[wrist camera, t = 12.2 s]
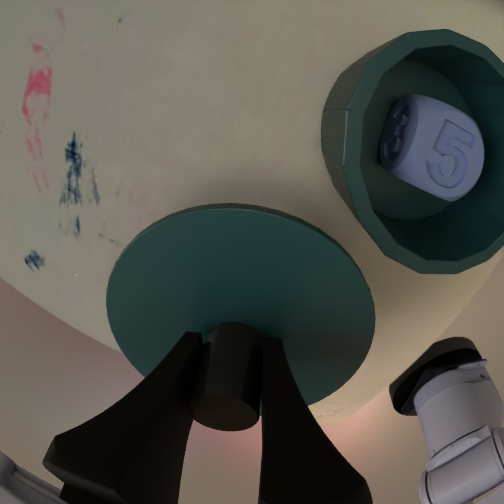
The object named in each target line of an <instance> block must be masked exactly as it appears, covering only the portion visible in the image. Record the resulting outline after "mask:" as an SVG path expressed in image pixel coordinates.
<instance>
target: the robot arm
mask: <svg viewBox="0 0 504 504" xmlns="http://www.w3.org/2000/svg"><path fill="white" fill-rule="evenodd" d="M202 348H203V340H202V333H201V332H190V331H186V332H185V333H184V334H183V335H182V336H181V338H180V339H179V340H178V342H177V343H176V344H175V345H174V346H173V348H172V349H171V350H170V351H169V352H168V354H167V355H166V356H165V357H164V358H163V359H162V360H161V362H160V363H159V364H158V365H157V366H156V367H155V368H154V369H153V370H152V371H151V372H150V373H149V374H148V375H147V376H146V377H145V378H144V379H143V380H142V381H141V382H140V383H139V384H138V385H137V386H136V387H135V388H134V389H133V390H131V391H130V392H129V393H128V394H127V395H125V396H124V397H123V398H122V399H121V400H119V401H118V402H116V403H115V404H114V405H112V406H111V407H109V408H108V409H106V410H105V411H104V412H102V413H101V414H99V415H97V416H95V417H94V418H92V419H90V420H88V421H87V422H85V423H83V424H81V425H79V426H77V427H75V428H73V429H70V430H68V431H66V432H64V433H61V434H59V435H56V436H55V437H54V439H53V441H52V442H51V444H50V446H49V448H48V451H47V453H46V455H45V457H44V459H43V462H42V463H43V465H44V467H45V468H46V469H47V470H49V471H50V472H51V473H52V474H54V475H55V476H56V477H57V478H59V479H60V480H61V481H63V482H64V486H63V488H62V490H60V489H59V488H57V487H55V486H53V485H51V484H49V483H47V482H45V481H44V480H42V479H40V478H38V477H36V476H35V475H33V474H31V473H30V472H28V471H26V470H25V469H23V468H21V467H20V466H18V465H17V464H15V462H14V461H13V460H11V459H10V458H9V457H8V456H6V455H5V454H4V453H2V452H1V451H0V504H178V497H179V489H180V481H181V474H182V468H183V461H184V455H185V450H186V444H187V440H188V435H189V432H190V429H191V425H192V422H193V418H192V417H191V416H190V415H189V413H188V411H187V402H188V398H189V395H190V391H191V387H192V384H193V380H194V377H195V373H196V370H197V366H198V362H199V359H200V355H201V352H202ZM486 364H487V359H481V360H476V361H470V362H464V363H458V364H452V365H445V366H438V367H431V368H427V369H425V370H424V372H423V374H422V375H421V377H420V379H419V381H418V382H417V384H416V386H415V388H414V389H413V391H412V393H411V394H410V396H409V397H408V399H407V401H406V402H405V404H404V405H403V407H402V409H401V411H402V413H405V412H412V411H416V412H417V415H418V418H419V421H420V424H421V428H422V432H423V435H424V438H425V442H426V446H427V449H428V453H429V457H430V460H429V461H428V462H426V463H425V464H426V468H427V470H425V471H424V472H423V473H422V476H421V479H420V482H419V496H420V500H421V503H422V504H473V499H475V498H477V497H479V496H480V495H482V494H484V493H486V492H488V491H489V490H491V489H493V488H495V487H496V486H498V485H500V484H501V483H502V482H503V484H502V486H501V487H500V488H499V489H498V490H497V491H495V492H494V493H492V494H491V495H489V496H487V497H485V498H483V499H482V500H480V501H478V502H476V503H474V504H504V428H503V427H501V425H502V422H503V419H504V406H503V402H502V399H501V397H500V395H499V393H498V391H497V389H496V387H495V385H494V383H493V381H492V379H491V377H490V376H489V374H488V372H487V370H486V368H485V365H486ZM261 416H262V459H261V472H260V485H259V498H258V504H373V501H372V497H371V493H370V490H369V487H368V484H367V482H366V480H365V478H364V477H362V476H361V475H360V473H358V472H357V471H356V470H355V469H354V468H353V467H352V466H351V464H350V463H349V462H347V460H346V459H345V458H344V457H343V456H342V455H341V453H340V452H339V451H338V450H337V449H336V447H335V446H334V445H333V444H332V442H331V441H330V440H329V438H328V437H327V436H326V434H325V433H324V432H323V430H322V429H321V427H320V426H319V424H318V423H317V421H316V420H315V418H314V416H313V415H312V413H311V411H310V410H309V408H308V406H307V404H306V402H305V401H304V399H303V397H302V395H301V393H300V391H299V388H298V386H297V384H296V382H295V379H294V377H293V374H292V372H291V369H290V366H289V364H288V361H287V357H286V354H285V350H284V345H283V340H282V339H281V338H278V337H264V342H263V358H262V388H261Z"/></svg>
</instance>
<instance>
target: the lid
mask: <svg viewBox="0 0 504 504" xmlns="http://www.w3.org/2000/svg"><path fill="white" fill-rule="evenodd" d="M106 307H107V316H108V320H109V324H110V327H111V330H112V333H113V335H114V337H115V340H116V342H117V343H118V345H119V347H120V349H121V350H122V352H123V353H124V355H125V356H126V357H127V359H128V360H129V361H130V363H131V364H132V365H133V366H134V367H135V368H136V369H137V370H138V371H139V372H140V373H141V374H142V375H143V376H144V377H146V376H147V375H148V374H149V373H150V372H151V371H152V370H153V369H154V368H155V367H156V366H157V365H158V364H159V363H160V362H161V360H162V359H163V358H164V357H165V356H166V355H167V354H168V352H169V351H170V350H171V349H172V348H173V346H174V345H175V344H176V343H177V342H178V340H179V339H180V338H181V336H182V335H183V334H184V333H185V332H186V331H190V332H201V333H202V340H203V348H202V352H201V355H200V359H199V362H198V366H197V370H196V373H195V377H194V380H193V384H192V387H191V391H190V395H189V398H188V402H187V411H188V413H189V415H190V416H191V417H192V418H193V419H194V420H195V421H197V422H198V423H200V424H202V425H204V426H206V427H209V428H212V429H216V430H222V431H241V430H245V429H248V428H251V427H252V426H254V425H255V424H256V423H257V422H258V420H259V416H261V388H262V358H263V342H264V337H278V338H281V339H282V340H283V345H284V350H285V354H286V357H287V361H288V364H289V366H290V369H291V372H292V374H293V377H294V379H295V382H296V384H297V386H298V388H299V391H300V393H301V395H302V397H303V399H304V401H305V402H306V404H307V406H309V405H311V404H313V403H316V402H318V401H320V400H322V399H324V398H325V397H327V396H329V395H331V394H332V393H333V392H335V391H336V390H338V389H339V388H340V387H342V386H343V385H344V384H345V383H346V382H347V381H348V380H349V379H350V378H351V377H352V376H353V375H354V374H355V373H356V371H357V370H358V369H359V367H360V366H361V364H362V363H363V361H364V360H365V358H366V356H367V354H368V351H369V349H370V347H371V343H372V340H373V336H374V331H375V309H374V302H373V299H372V295H371V292H370V289H369V286H368V284H367V282H366V280H365V278H364V276H363V274H362V272H361V270H360V268H359V267H358V265H357V264H356V263H355V261H354V260H353V259H352V257H351V256H350V254H349V253H348V252H347V251H346V250H345V249H344V248H343V247H342V246H341V245H340V244H339V243H338V242H337V241H335V240H334V239H333V238H331V237H330V236H329V235H327V234H326V233H325V232H323V231H322V230H320V229H319V228H317V227H315V226H314V225H312V224H310V223H308V222H306V221H304V220H302V219H300V218H298V217H295V216H293V215H290V214H287V213H284V212H282V211H279V210H275V209H271V208H266V207H262V206H257V205H249V204H237V203H223V204H208V205H202V206H197V207H192V208H187V209H184V210H181V211H178V212H176V213H173V214H170V215H168V216H166V217H164V218H162V219H160V220H158V221H156V222H154V223H153V224H151V225H150V226H148V227H147V228H146V229H144V230H143V231H142V232H141V233H139V234H138V235H137V236H136V237H135V238H134V239H133V240H132V241H131V242H130V244H129V245H128V246H127V247H126V248H125V249H124V250H123V251H122V253H121V255H120V256H119V258H118V259H117V261H116V262H115V264H114V267H113V269H112V272H111V274H110V277H109V281H108V286H107V294H106Z"/></svg>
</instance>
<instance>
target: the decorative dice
mask: <svg viewBox="0 0 504 504" xmlns="http://www.w3.org/2000/svg"><path fill="white" fill-rule="evenodd" d="M380 158H381V163H382V165H383V167H384V170H385V171H387V172H388V173H390V174H392V175H394V176H395V177H397V178H399V179H401V180H403V181H405V182H408V183H410V184H412V185H414V186H416V187H418V188H420V189H422V190H424V191H427V192H429V193H431V194H433V195H435V196H438V197H440V198H442V199H445V200H447V201H450V202H453V201H455V200H458V199H459V198H461V197H463V196H464V195H466V194H467V193H468V192H469V191H470V190H471V189H472V188H473V187H474V185H475V184H476V182H477V180H478V178H479V176H480V174H481V171H482V168H483V163H484V144H483V139H482V135H481V133H480V130H479V128H478V126H477V124H476V122H475V121H474V120H473V119H472V118H470V117H469V116H468V115H466V114H465V113H463V112H462V111H460V110H458V109H456V108H454V107H452V106H450V105H448V104H446V103H444V102H441V101H439V100H436V99H433V98H430V97H427V96H423V95H418V94H407V95H405V96H403V97H401V98H400V99H399V100H398V101H397V102H396V104H395V105H394V106H393V108H392V110H391V112H390V114H389V116H388V118H387V121H386V123H385V126H384V130H383V133H382V138H381V145H380Z"/></svg>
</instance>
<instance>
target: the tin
mask: <svg viewBox="0 0 504 504" xmlns="http://www.w3.org/2000/svg"><path fill="white" fill-rule="evenodd" d="M407 94H418V95H423V96H427V97H430V98H433V99H436V100H439V101H441V102H444V103H446V104H448V105H450V106H452V107H454V108H456V109H458V110H460V111H462V112H463V113H465V114H466V115H468V116H469V117H470V118H472V119H473V120H474V121H475V122H476V124H477V126H478V128H479V130H480V133H481V135H482V139H483V144H484V163H483V168H482V171H481V174H480V176H479V178H478V180H477V182H476V184H475V185H474V187H473V188H472V189H471V190H470V191H469V192H468V193H467V194H466V195H464V196H463V197H461V198H459V199H458V200H455V201H453V202H450V201H447V200H445V199H442V198H440V197H438V196H435V195H433V194H431V193H429V192H427V191H424V190H422V189H420V188H418V187H416V186H414V185H412V184H410V183H408V182H405V181H403V180H401V179H399V178H397V177H395V176H394V175H392V174H390V173H388V172H387V171H385V170H384V167H383V165H382V163H381V158H380V145H381V138H382V133H383V130H384V126H385V123H386V121H387V118H388V116H389V114H390V112H391V110H392V108H393V106H394V105H395V104H396V102H397V101H398V100H399V99H400V98H401V97H403V96H405V95H407ZM321 143H322V145H321V148H322V152H323V156H324V159H325V163H326V167H327V169H328V171H329V174H330V176H331V179H332V182H333V185H334V187H335V188H336V190H337V191H338V193H339V194H340V195H341V197H342V198H343V200H344V201H345V203H346V204H347V205H348V207H349V208H350V210H351V211H352V213H353V214H354V216H355V217H356V219H357V220H358V221H359V223H360V224H361V225H362V226H363V228H364V229H365V230H366V232H367V233H368V234H369V235H370V237H371V238H372V239H373V241H374V242H375V243H376V244H377V246H378V247H379V248H380V250H381V251H382V252H383V254H384V255H386V256H387V257H389V258H391V259H392V260H394V261H396V262H398V263H400V264H402V265H404V266H406V267H408V268H410V269H412V270H414V271H416V272H418V273H421V274H458V273H460V272H463V271H465V270H467V269H470V268H472V267H474V266H476V265H479V264H481V263H483V262H485V261H487V260H489V259H490V258H491V257H492V256H493V255H494V254H495V253H496V252H498V251H499V250H500V249H501V248H502V247H503V246H504V63H503V62H502V61H501V60H500V59H499V58H498V57H497V56H496V55H495V54H494V53H493V52H492V51H491V50H490V49H489V48H488V47H486V45H484V44H481V43H479V42H477V41H475V40H473V39H471V38H468V37H466V36H464V35H461V34H459V33H456V32H454V31H451V30H447V29H439V30H426V31H416V32H407V33H405V34H402V35H400V36H398V37H396V38H394V39H393V40H391V41H389V42H387V43H385V44H383V45H381V46H379V47H377V48H376V49H374V50H372V51H370V52H368V53H367V54H365V55H364V56H363V57H361V58H360V59H359V60H358V61H356V62H355V63H353V64H352V65H351V66H350V67H349V68H347V69H346V70H345V71H344V72H342V73H341V74H340V76H339V77H338V79H337V81H336V82H335V84H334V86H333V88H332V89H331V91H330V93H329V96H328V98H327V101H326V103H325V106H324V110H323V115H322V124H321Z"/></svg>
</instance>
